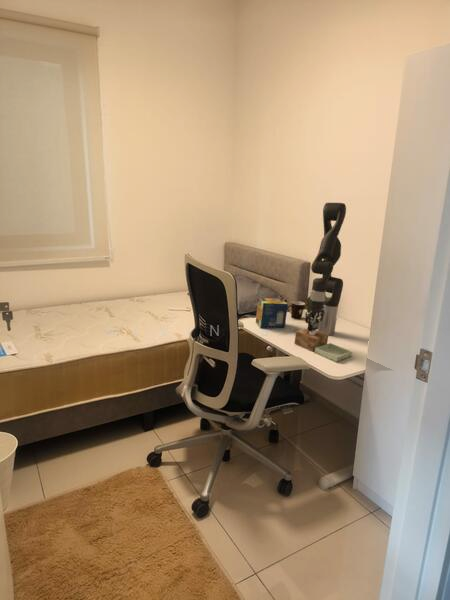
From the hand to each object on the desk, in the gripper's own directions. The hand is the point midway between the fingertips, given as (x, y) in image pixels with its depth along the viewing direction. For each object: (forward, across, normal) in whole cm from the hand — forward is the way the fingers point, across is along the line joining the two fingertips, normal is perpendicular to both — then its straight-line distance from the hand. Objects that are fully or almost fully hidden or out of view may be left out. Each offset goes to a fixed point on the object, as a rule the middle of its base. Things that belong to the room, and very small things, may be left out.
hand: (312, 329), depth 204 cm
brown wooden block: (+9, 0, 0) cm, 9 cm away
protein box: (+9, -4, -33) cm, 34 cm away
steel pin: (+9, 0, 0) cm, 9 cm away
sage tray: (+9, 0, +14) cm, 17 cm away
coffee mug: (+9, -30, -36) cm, 48 cm away
